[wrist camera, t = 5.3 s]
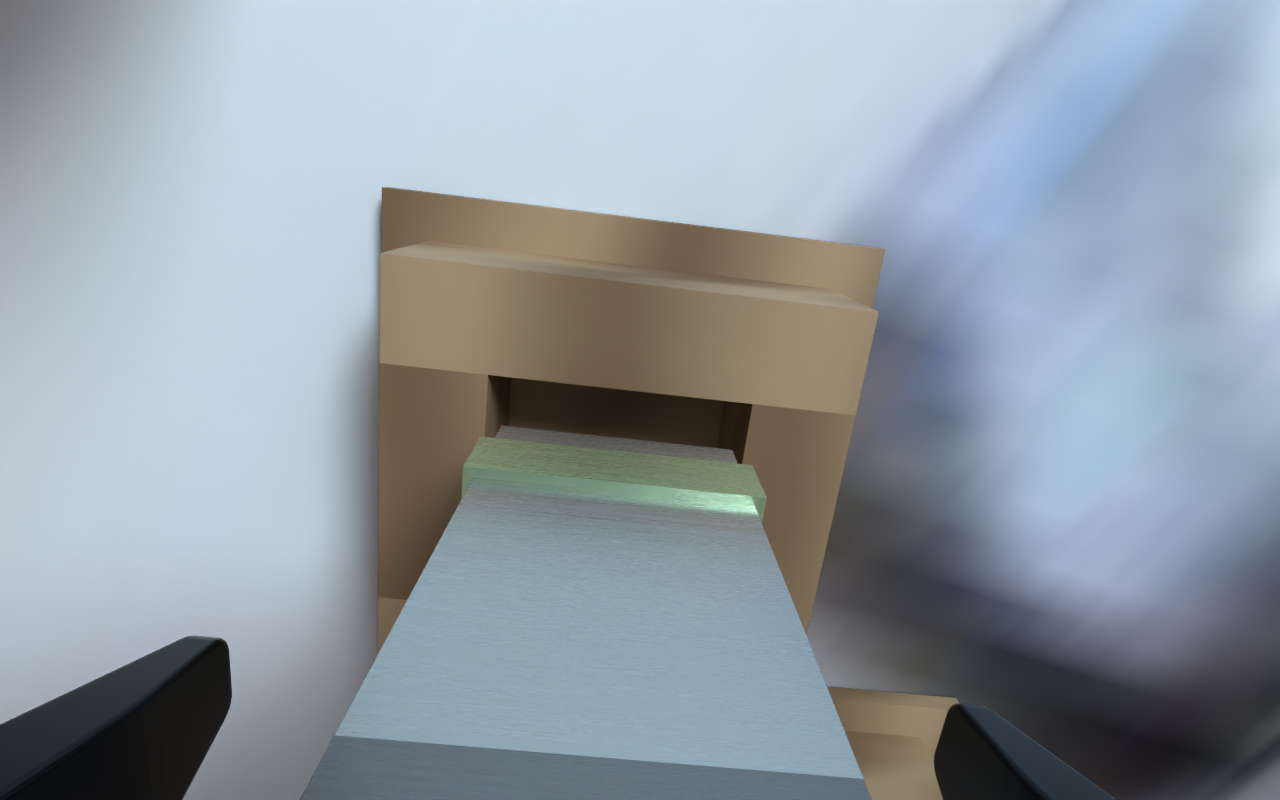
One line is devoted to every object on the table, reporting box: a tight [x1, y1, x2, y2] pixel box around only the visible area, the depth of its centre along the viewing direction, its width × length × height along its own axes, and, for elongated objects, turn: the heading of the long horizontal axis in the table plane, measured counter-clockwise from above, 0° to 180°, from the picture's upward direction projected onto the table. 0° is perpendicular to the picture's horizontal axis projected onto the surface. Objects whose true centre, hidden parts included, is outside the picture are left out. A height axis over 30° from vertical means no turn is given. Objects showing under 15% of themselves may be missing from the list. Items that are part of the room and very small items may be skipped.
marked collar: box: [377, 187, 885, 655], centre depth 15 cm, size 11×11×4 cm
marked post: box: [300, 425, 872, 800], centre depth 9 cm, size 4×4×8 cm
